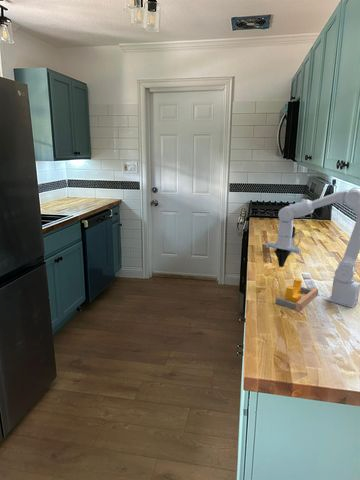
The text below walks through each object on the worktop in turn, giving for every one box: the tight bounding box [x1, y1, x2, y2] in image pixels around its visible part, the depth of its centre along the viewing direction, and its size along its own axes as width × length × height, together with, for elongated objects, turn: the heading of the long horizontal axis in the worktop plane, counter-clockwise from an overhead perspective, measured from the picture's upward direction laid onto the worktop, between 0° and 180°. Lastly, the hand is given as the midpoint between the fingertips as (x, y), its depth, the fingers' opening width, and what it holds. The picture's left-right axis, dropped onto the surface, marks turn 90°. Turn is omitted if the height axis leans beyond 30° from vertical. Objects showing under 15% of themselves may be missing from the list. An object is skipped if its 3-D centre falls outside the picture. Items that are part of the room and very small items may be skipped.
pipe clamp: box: [284, 277, 303, 303], centre depth 134 cm, size 12×4×6 cm, turn 146°
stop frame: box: [275, 286, 319, 312], centre depth 134 cm, size 10×19×3 cm, turn 139°
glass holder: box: [289, 226, 302, 256], centre depth 191 cm, size 9×14×15 cm, turn 26°
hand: (281, 266), depth 143 cm, fingers closed
